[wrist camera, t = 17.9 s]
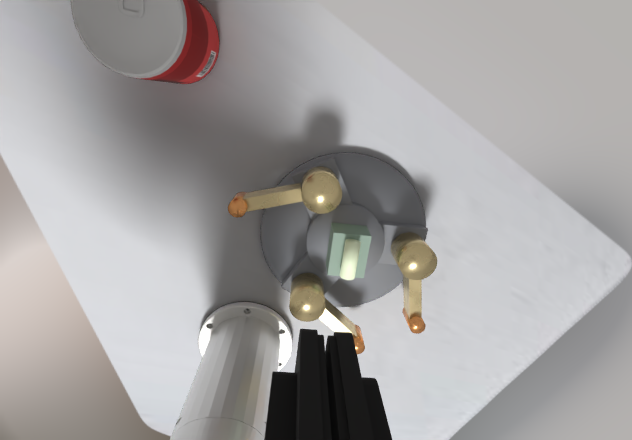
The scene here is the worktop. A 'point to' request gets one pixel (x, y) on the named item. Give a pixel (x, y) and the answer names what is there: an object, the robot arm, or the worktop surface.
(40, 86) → the worktop surface
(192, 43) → the canned food
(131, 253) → the worktop surface
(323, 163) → the tribrach
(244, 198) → the knob
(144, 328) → the worktop surface
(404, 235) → the knob
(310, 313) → the knob
